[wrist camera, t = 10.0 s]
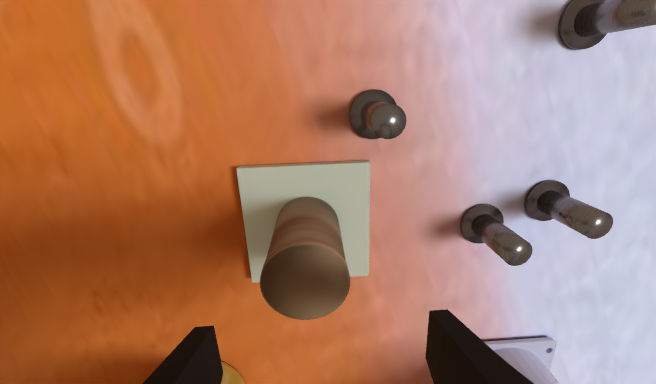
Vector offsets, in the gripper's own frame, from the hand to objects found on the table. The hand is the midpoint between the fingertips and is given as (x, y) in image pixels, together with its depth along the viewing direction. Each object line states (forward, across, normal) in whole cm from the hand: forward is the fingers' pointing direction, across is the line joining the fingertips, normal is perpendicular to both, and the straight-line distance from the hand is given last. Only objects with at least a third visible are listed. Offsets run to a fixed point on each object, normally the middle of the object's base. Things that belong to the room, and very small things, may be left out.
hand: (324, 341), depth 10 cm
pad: (+10, +1, 0) cm, 10 cm away
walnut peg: (+10, +1, 0) cm, 10 cm away
